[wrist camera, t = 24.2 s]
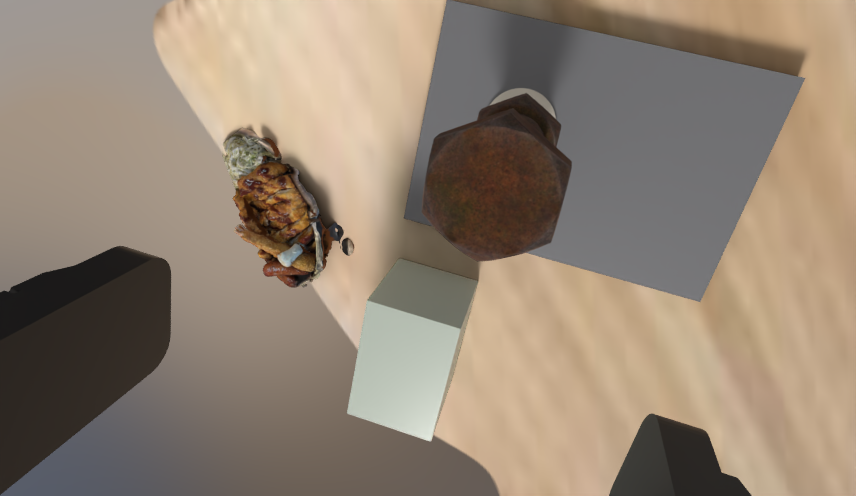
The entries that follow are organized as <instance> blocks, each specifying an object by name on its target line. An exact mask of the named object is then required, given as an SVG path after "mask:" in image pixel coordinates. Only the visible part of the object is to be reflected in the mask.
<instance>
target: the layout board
mask: <svg viewBox="0 0 856 496" xmlns="http://www.w3.org/2000/svg"><path fill="white" fill-rule="evenodd" d="M804 80H805V78H802V77H798V76H793V75H789V74H784V73H779V72H775V71H770V70H766V69H761V68H757V67H752V66H748V65H743V64H739V63H734V62H729V61H725V60H720V59H716V58H711V57H707V56H702V55H698V54H693V53H689V52H684V51H680V50H675V49H670V48H666V47H661V46H657V45H652V44H648V43H643V42H639V41H634V40H630V39H625V38H620V37H616V36H611V35H607V34H602V33H598V32H593V31H589V30H584V29H580V28H575V27H570V26H566V25H561V24H557V23H552V22H548V21H543V20H539V19H534V18H530V17H525V16H520V15H516V14H511V13H507V12H502V11H498V10H493V9H489V8H484V7H480V6H475V5H470V4H466V3H461V2H457V1H452V0H447V2H446V7H445V12H444V17H443V22H442V27H441V33H440V38H439V43H438V48H437V53H436V58H435V63H434V68H433V73H432V78H431V83H430V88H429V93H428V98H427V103H426V108H425V114H424V119H423V124H422V129H421V134H420V139H419V144H418V149H417V154H416V159H415V164H414V169H413V174H412V179H411V184H410V189H409V195H408V200H407V205H406V210H405V215H404V218H405V219H408V220H412V221H415V222H419V223H422V224H426V225H429V226H432V225H431V223H430V222H429V221H428V220H427V218H426V217H425V216H424V215H423V214H422V197H423V189H424V183H425V177H426V172H427V167H428V161H429V156H430V152H431V148H432V144H433V140H434V138H435V137H436V136H437V135H438V134H440V133H442V132H445V131H448V130H451V129H454V128H457V127H459V126H462V125H465V124H468V123H471V122H474V121H477V118H478V114H479V111H480V110H481V109H482V108H485V107H487V106H490V105H493V104H495V103H498V102H501V101H504V100H506V99H509V98H512V97H515V96H518V95H522V94H525V93H527V94H529V95H530V96H531V97H532V98H533V99H535V100H536V101H537V102H538V103H539V104H540V105H541V106H543V107H544V108H545V109H546V110H547V111H548V112H549V113H550V114H551V115H552V116H553V117H554V118H555V119H556V120H557V121H558V122H559V123H560V124H561V131H560V135H559V139H558V143H557V148H558V149H559V150H560V151H561V152H562V153H563V154H564V155H565V156H566V157H568V158H569V159H570V160H571V161H572V169H571V173H570V178H569V182H568V186H567V190H566V194H565V197H564V201H563V205H562V208H561V212H560V216H559V219H558V223H557V226H556V230H555V233H554V236H553V239H552V242H551V243H549V244H547V245H545V246H542V247H540V248H537V249H535V250H532V251H529V252H526V253H529V254H532V255H536V256H539V257H543V258H546V259H550V260H553V261H557V262H560V263H564V264H568V265H571V266H575V267H578V268H582V269H585V270H589V271H592V272H596V273H599V274H603V275H607V276H610V277H614V278H617V279H621V280H624V281H628V282H631V283H635V284H638V285H642V286H646V287H649V288H653V289H656V290H660V291H663V292H667V293H670V294H674V295H677V296H681V297H684V298H688V299H692V300H695V301H699V302H700V301H701V299H702V297H703V295H704V293H705V290H706V288H707V286H708V284H709V282H710V280H711V278H712V276H713V273H714V271H715V269H716V267H717V265H718V263H719V261H720V259H721V256H722V254H723V252H724V250H725V248H726V246H727V244H728V241H729V239H730V237H731V235H732V233H733V231H734V229H735V227H736V224H737V222H738V220H739V218H740V216H741V214H742V212H743V210H744V207H745V205H746V203H747V201H748V199H749V197H750V195H751V192H752V190H753V188H754V186H755V184H756V182H757V180H758V178H759V175H760V173H761V171H762V169H763V167H764V165H765V163H766V161H767V158H768V156H769V154H770V152H771V150H772V148H773V146H774V143H775V141H776V139H777V137H778V135H779V133H780V131H781V129H782V126H783V124H784V122H785V120H786V118H787V116H788V114H789V112H790V109H791V107H792V105H793V103H794V101H795V99H796V97H797V94H798V92H799V90H800V88H801V86H802V84H803V82H804Z"/></svg>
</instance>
